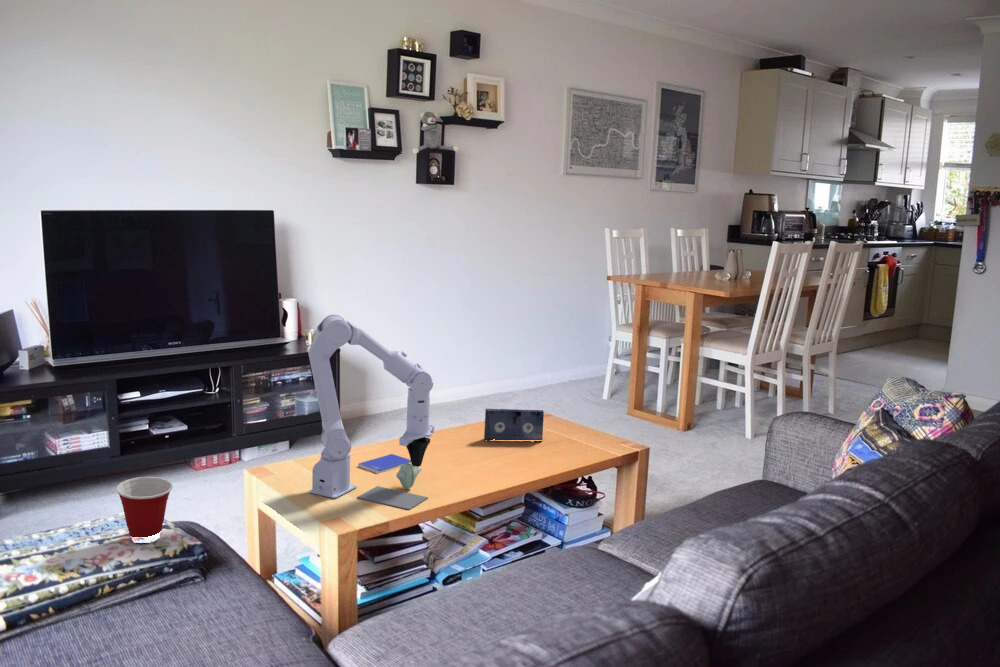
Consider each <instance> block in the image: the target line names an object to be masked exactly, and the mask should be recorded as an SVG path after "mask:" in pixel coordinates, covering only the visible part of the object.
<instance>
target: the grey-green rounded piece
mask: <svg viewBox="0 0 1000 667" xmlns="http://www.w3.org/2000/svg"><path fill="white" fill-rule="evenodd" d="M422 470H423V468H421V467H420V466H419V467H416V466H413V465H412V464H411V463H410V464H409V463H405V464H403V465H402V466H401V467H399V470H398V472H396V478H397V479H398V480H399V482H400V484H401V486H402V488H403V489H404V490H405V489H406V490H409V489H411V488H413V486H414V484H415V482H416V478H417V476H418V475H419V474H420V473H421V471H422Z"/></svg>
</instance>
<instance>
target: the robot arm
mask: <svg viewBox="0 0 1000 667" xmlns="http://www.w3.org/2000/svg"><path fill="white" fill-rule="evenodd" d="M346 344H348V345H349V346H360V347H362V348H363V349H365V351H368V352H369V353H370V354H372V355H373V356H375V358H377V359H379V360H380V361H382V363H383V368H384V370H385V371H387V372H388V373H389V374H390V375H392V376H393V377H395V378H396V379H397V380H398V381H400V382H402V383H403V384H405V385H406V386H407V387H408V388H407V400H406V401H407V402H406V404H407V407H406V408H407V409H406V430H405V431H404V433H403V434H402V436H400V437H399V439H398V440H399V446H402V447H406V449H407V452H408V453H409V460H411V463H410V464H411V465H413V466H415V467H419V468H420V467H421V466H422V463H423V460H424V456H425V453H426V450H427V448H428V446H429V444H430V443H431V437H433V434H434V433H435V425H432V424H430V406H431V405H430V403H431V402H430V398H431V397H430V393H431V391H432V389H433V386H434V382H433V379H432V376H431V375H430V373H428V372H427V371H426V370H425V369H423V367H422V365H421V364H419V363H415V362H414V361H413V360H411V359H410V358H409V357H407V356H408V354H407V353H406V352H405V351H401V352H400V351H399V350H394V351H393V350H391V351H390V350H389V349H388V348H386V347H385V346H384V345H383V344H382V343H380V342H379V341H377V340H376V339H375V338H374V337H372V336H371V335H370V334H369V333H367V331H365V330H364V329H362V328H361V327H359V326H357V325H356V324H354V323H353V322H351V321H349V320H346V321H345V319H344V318H343V317H342V316H340V315H339V314H329V315H327V316H326V317H325V318H323V320H322V321H321V322H319V323H318V325H317V326H316V330H315V333H314V336H313V338H312V341H311V344H310V346H309V349H308V357H309V359H308V360H309V364H310V368H311V373H312V377H313V382H314V389H315V392H316V397H317V401H318V407H319V411H320V412H319V413H320V416H321V417H320V418H321V427H322V432H321V436H320V440H321V443H322V445H323V447H324V448H323V450H322V451H321V452H320V459H319V460H318V461H317V462H316V463H315V464H314V465H313V467H312V477H311V478H312V487H311V489H310V490H309V493H311V494H315V495H319V496H322V495H323V496H322V497H326V498H332V499H337V498H339V497H340V496H343V495H345V494H347V493H349V492H351V491H352V490H355V489H356V488H358V487H357V484H352V483H351V450H352V443H351V440H350V438H348V436H347V433H346V430H345V427H344V425H343V422H342V417H341V412H340V408H339V406H340V405H339V402H338V396H337V391H336V387H335V386H336V385H335V382H334V381H335V380H334V377H333V371H332V367H331V362H330V359H331V357H332V356H333V354H334V353H335V352H336V350H338V349H339V348H341V347H342V346H343V347H344V345H346Z"/></svg>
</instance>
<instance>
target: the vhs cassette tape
mask: <svg viewBox="0 0 1000 667" xmlns="http://www.w3.org/2000/svg"><path fill="white" fill-rule="evenodd" d="M544 414H545V411H544V410H543V409H542V410H540V409H538V410H537V409H517V408H515V409H513V408H512V409H509V408H500V409H499V408H485V414H484V434H483V439H485V440H493V439H495V440H542V441H543V436H544V434H543V433H544V431H543V430H544ZM485 440H484V441H485Z"/></svg>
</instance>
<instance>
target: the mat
mask: <svg viewBox="0 0 1000 667" xmlns="http://www.w3.org/2000/svg"><path fill="white" fill-rule="evenodd" d="M356 499H358V500H359V499H360V500H363V501H367V500H368V502H372V503H377V504H381V505H385V506H390V507H394V508H399V509H401V510H403V509H404V510H406V511H411V510H412V509H414V508H415V507H417V506H418V505H420V504H422V503H423V502H425V501H426V500H428V499H429V497H428V496H424V495H419V494H415V493H410V492H405V491H402V490H397V489H392V488H387V487H383V486H379V485H377V486H375V487H373V488H371V489H369V490H367V491H366V492H363V493H362V494H359V495H358V496H356Z"/></svg>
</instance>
